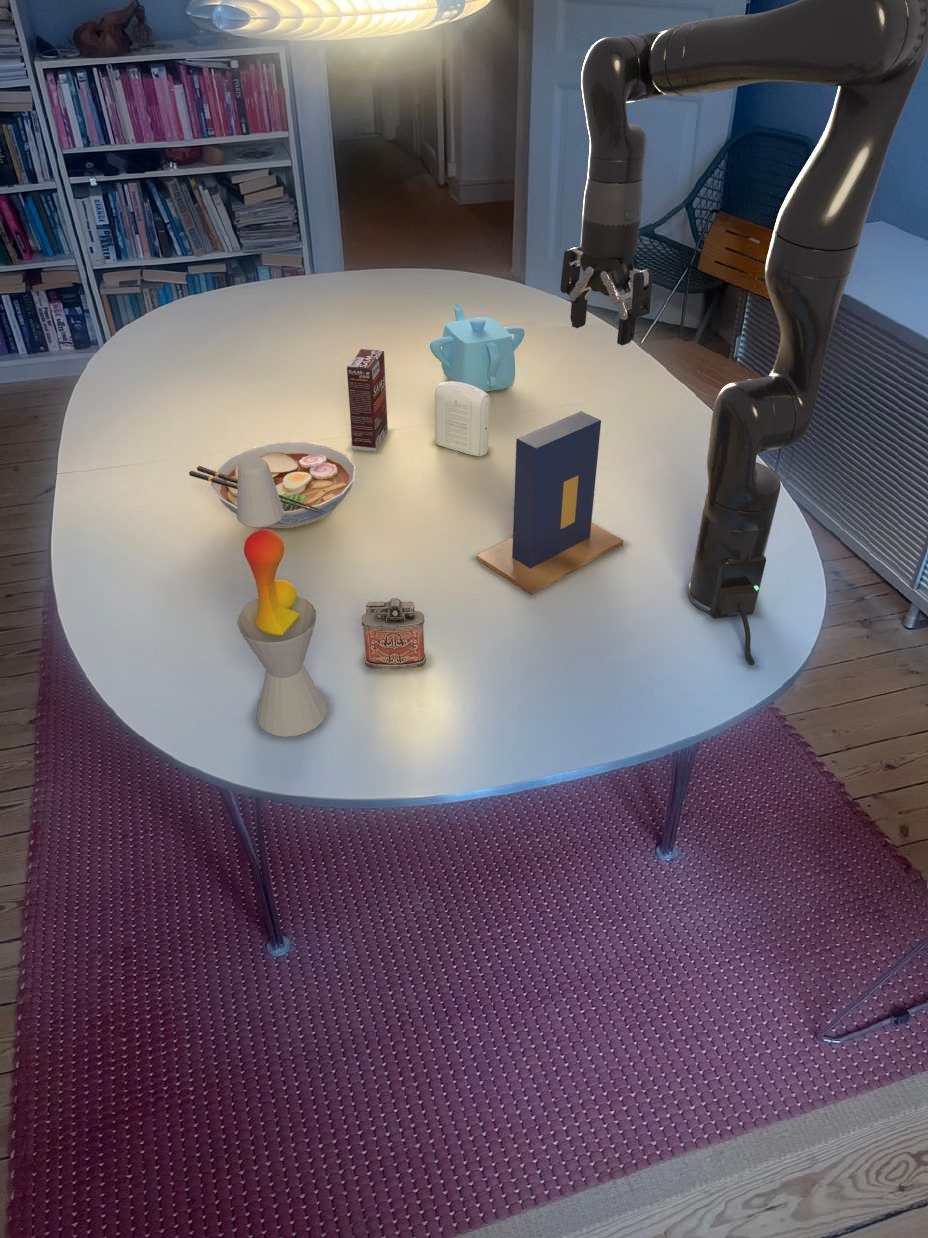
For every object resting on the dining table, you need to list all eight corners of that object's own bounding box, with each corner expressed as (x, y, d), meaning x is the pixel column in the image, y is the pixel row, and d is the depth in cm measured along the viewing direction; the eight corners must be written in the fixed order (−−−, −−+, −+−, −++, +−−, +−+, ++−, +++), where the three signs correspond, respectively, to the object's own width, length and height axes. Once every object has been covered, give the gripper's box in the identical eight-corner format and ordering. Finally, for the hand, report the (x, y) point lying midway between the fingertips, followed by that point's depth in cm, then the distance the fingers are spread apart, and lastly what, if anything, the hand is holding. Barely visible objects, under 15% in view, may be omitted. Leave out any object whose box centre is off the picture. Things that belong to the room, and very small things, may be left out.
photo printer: (492, 449, 173) (493, 385, 165) (481, 459, 170) (481, 394, 162) (443, 436, 177) (442, 373, 169) (431, 445, 174) (430, 382, 166)
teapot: (531, 377, 197) (534, 313, 189) (495, 408, 186) (496, 341, 178) (455, 360, 204) (455, 298, 196) (415, 388, 193) (413, 323, 185)
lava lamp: (306, 745, 114) (268, 492, 92) (241, 726, 117) (189, 475, 95) (340, 698, 121) (312, 450, 99) (278, 680, 123) (238, 436, 102)
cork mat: (567, 513, 155) (568, 509, 155) (623, 544, 148) (623, 540, 148) (476, 559, 145) (476, 555, 145) (531, 594, 138) (531, 590, 137)
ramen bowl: (392, 503, 158) (389, 459, 153) (306, 571, 143) (301, 525, 138) (274, 465, 168) (268, 423, 163) (183, 526, 153) (173, 481, 148)
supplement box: (377, 452, 172) (371, 369, 162) (351, 450, 173) (344, 367, 163) (389, 431, 178) (385, 349, 169) (364, 428, 179) (359, 347, 169)
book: (536, 448, 129) (602, 419, 136) (515, 437, 132) (581, 410, 138) (530, 569, 142) (590, 537, 148) (511, 557, 144) (571, 526, 151)
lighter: (425, 653, 128) (423, 593, 121) (425, 669, 125) (423, 609, 119) (365, 654, 127) (360, 594, 121) (364, 671, 125) (359, 610, 119)
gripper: (673, 220, 122) (657, 342, 132) (590, 197, 130) (581, 314, 140) (635, 231, 118) (621, 357, 128) (552, 207, 126) (545, 327, 136)
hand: (600, 334), depth 134 cm, fingers open, 8 cm apart
